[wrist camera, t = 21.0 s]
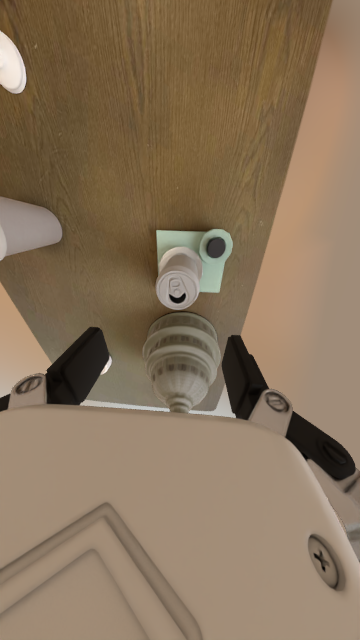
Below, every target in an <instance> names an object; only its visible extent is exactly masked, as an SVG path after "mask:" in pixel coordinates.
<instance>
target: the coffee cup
mask: <svg viewBox="0 0 360 640" xmlns="http://www.w3.org/2000/svg"><path fill="white" fill-rule="evenodd" d="M61 238H62V228H61V225H60V223H59V221H58V219H57V218H56V216H55V215H54V214H53V213H52V212H51V211H49V210H48V209H46V208H44V207H41V206H37V205H33V204H29V203H25V202H21V201H17V200H13V199H9V198H5V197H1V196H0V261H1V260H2V259H3V258H4V257H5V256H8V255H12V254H16V253H20V252H24V251H28V250H32V249H35V248H39V247H43V246H47V245H51V244H55V243H58V242H59V241H60V240H61Z"/></svg>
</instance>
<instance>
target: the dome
mask: <svg viewBox="0 0 360 640" xmlns="http://www.w3.org/2000/svg"><path fill="white" fill-rule="evenodd" d="M142 355H143V360H144V362H145V372H146V374H147V376H148V378H149V379H150V381H151V382H152V388H153V392H154V394H155V395H156V397H158V398H159V400H160V401H161V402H162V403H165V404H166V405H167V407H168V408H169V409H170V412H177V413H188V412H189V411H190V410H191V409H192V407H193V406H194V405H197V404H199V403H200V402H201V401H202V399H203V398H204V397H205V396H206V394H207V392H208V389H209V386H210V385H211V384H212V383H213V382H214V380H215V378H216V375H217V367H218V365H219V363H220V357H221V355H220V349H219V346H218V343H217V334H216V331H215V329H214V327H213V326H212V325H211V323H210V322H209V321H207V320H206V319H205V318H203V317H201V316H199V315H197V314H194V313H189V312H175V313H170V314H167V315H165V316H163V317H161V318H159V319H158V320H156V321H155V322H154V323H153V324H152V325H151V327H150V329H149V331H148V335H147V340H146V341H145V344H144V346H143V351H142Z"/></svg>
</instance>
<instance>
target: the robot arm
mask: <svg viewBox="0 0 360 640" xmlns="http://www.w3.org/2000/svg"><path fill="white" fill-rule="evenodd" d="M109 357H110V356H109V352H108V349H107V346H106V342H105V339H104V335H103V332H102V330H101V329H100V328H98V327H89V328H88V329H87V330H86V331H85V332H84V333H83V334H82V335H81V336H80V337H79V338H78V339H77V340H76V341H75V342H74V343H73V344H72V345H71V346H70V347H69V348H68V349H67V350H66V351H65V352H64V353H63V354H62V355H61V356H60V357H59V358H58V359H57V360H56V361H55V362H54V363H53V364H52V365H51V366H50V367H49V368H48V369H47V373H46V374H45V375H44V374H41V373H38V374H33V375H30V376H27V377H25V378H24V379H22V380H20V381H19V382H18V383H17V384H16V385H15V386H14V387H13V388H12V391H11V394H8V395H6V396H4V397H1V398H0V640H360V471H359V470H358V469H357V468H356V467H355V463H354V461H353V459H352V457H351V456H350V454H349V453H348V451H347V450H346V449H345V448H344V447H343V446H342V445H341V444H339V443H338V442H337V441H336V440H334V439H333V438H331V437H330V436H329V435H327V434H326V433H324V432H323V431H321V430H320V429H318V428H317V427H316V426H314V425H313V424H311V423H310V422H308V421H307V420H305V419H304V418H302V417H301V416H300V415H298V414H297V413H295V412H294V411H293V408H292V404H291V402H290V401H289V399H288V398H287V397H286V396H285V395H283V394H282V393H281V392H279V391H277V390H273V389H269V388H268V386H267V384H266V382H265V380H264V377H263V376H262V373H261V371H260V369H259V368H258V365H257V363H256V361H255V359H254V357H253V356H252V355H251V354H249V353H248V351H247V349H246V347H245V345H244V342H243V340H242V338H241V336H240V335H231V337H228V341H227V345H226V349H225V353H224V357H223V361H222V370H223V374H224V379H225V383H226V387H227V392H228V396H229V400H230V405H231V409H232V412H233V413H235V415H236V418H231V417H223V416H212V415H202V414H189V413H177V412H164V411H150V410H136V409H122V408H108V407H94V406H80V403H81V402H83V401H84V400H85V399H86V397H87V395H88V394H89V392H90V390H91V389H92V387H93V385H94V384H95V382H96V380H97V379H98V377H99V376H100V374H101V372H102V371H103V369H104V367H105V366H106V364H107V362H108V361H109ZM327 498H328V499H327ZM331 506H332V507H331ZM332 508H333V509H334V510H335V511H336V512H337V514H338V516H339V517H340V518H341V520H342V522H343V524H344V526H345V529H346V532H347V536H346V534H345V532H344V530H343V528H342V526H341V525H340V523H339V521H338V519H337V517H336V515H335V513H334V511H333V509H332ZM309 536H310V537H309ZM347 537H348V538H347Z"/></svg>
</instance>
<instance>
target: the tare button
mask: <svg viewBox="0 0 360 640" xmlns="http://www.w3.org/2000/svg"><path fill="white" fill-rule="evenodd" d="M225 248H226V246H225V243H224V241H223V240H221V239H219V238H214V239H212V240H211V241H210V242H209V243H208V246H207V251H208V253H209V255H210V256H211V257H213V258H218V257H220V256H222V255H223V254H224V252H225Z"/></svg>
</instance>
